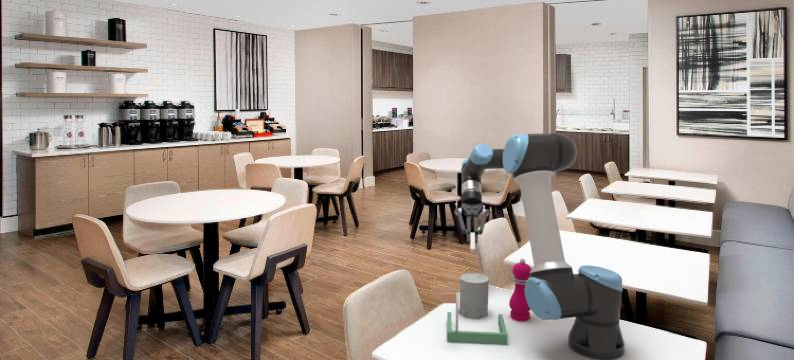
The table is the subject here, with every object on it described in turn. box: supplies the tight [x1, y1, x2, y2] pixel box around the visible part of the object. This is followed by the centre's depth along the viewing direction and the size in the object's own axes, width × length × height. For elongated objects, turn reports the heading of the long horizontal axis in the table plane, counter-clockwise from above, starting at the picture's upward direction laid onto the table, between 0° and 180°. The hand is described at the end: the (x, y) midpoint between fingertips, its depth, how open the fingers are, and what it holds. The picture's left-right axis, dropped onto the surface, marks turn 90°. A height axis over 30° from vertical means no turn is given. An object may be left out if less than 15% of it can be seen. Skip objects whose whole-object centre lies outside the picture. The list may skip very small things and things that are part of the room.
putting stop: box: [442, 292, 509, 345], centre depth 156 cm, size 19×14×15 cm
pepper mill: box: [508, 258, 532, 322], centre depth 166 cm, size 7×7×20 cm
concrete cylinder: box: [458, 272, 490, 320], centre depth 170 cm, size 10×10×12 cm
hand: (472, 250), depth 181 cm, fingers closed
